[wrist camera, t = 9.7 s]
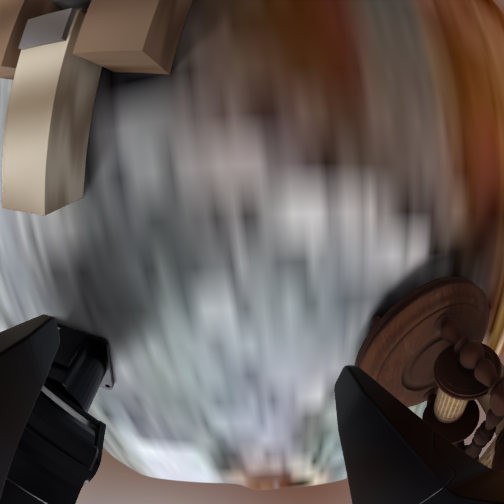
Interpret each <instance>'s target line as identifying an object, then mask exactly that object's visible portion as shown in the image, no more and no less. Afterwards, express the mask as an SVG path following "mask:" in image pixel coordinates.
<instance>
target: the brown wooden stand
mask: <svg viewBox="0 0 504 504" xmlns="http://www.w3.org/2000/svg"><path fill="white" fill-rule="evenodd" d="M488 321H489V305H488V301H487V298H486V296H485V294H484V292H483V291H482V290H481V289H480V288H479V287H478V286H476V285H475V284H474V283H473V282H471V281H470V280H468V279H465V278H462V277H444V278H440V279H437V280H434V281H431V282H429V283H426V284H424V285H422V286H421V287H419V288H417V289H415V290H414V291H412V292H411V293H409V294H408V295H406V296H405V297H404V298H402V299H401V300H400V301H399V302H397V303H396V304H395V305H394V306H393V307H392V308H391V309H390V310H388V311H387V312H386V314H385V315H384V316H383V317H382V318H381V317H378V316H374V317H373V318H372V326H373V329H372V330H371V331H370V333H369V334H368V336H367V338H366V339H365V341H364V343H363V344H362V346H361V348H360V351H359V353H358V356H357V359H356V362H355V366H359V367H360V368H361V369H362V370H363V371H365V372H366V373H367V374H368V375H369V376H371V377H372V378H373V379H374V380H375V381H376V382H378V383H379V384H380V385H381V386H382V387H384V388H385V389H386V390H387V391H388V392H390V393H391V394H392V395H393V396H394V397H396V398H397V399H398V400H399V401H400V402H402V403H403V404H404V405H405V406H406V407H410V406H414V405H417V404H420V403H422V402H424V401H427V406H426V408H425V410H424V413H423V417H422V420H423V421H425V422H426V423H427V424H428V425H429V426H431V427H432V428H433V430H436V431H437V432H438V433H439V434H441V435H442V436H443V437H444V438H446V439H447V440H448V441H450V442H451V443H452V444H454V445H455V446H456V447H458V448H459V449H461V450H462V451H464V452H465V453H467V454H468V455H470V456H471V457H473V458H474V459H476V460H478V461H479V462H481V463H482V464H484V465H485V466H487V467H489V468H491V469H493V470H497V471H504V366H503V365H502V363H501V362H500V359H499V357H498V355H497V354H496V353H495V352H494V351H493V350H492V349H491V348H490V347H488V346H487V345H485V344H482V341H483V339H484V336H485V333H486V330H487V326H488ZM475 399H477V400H478V402H479V403H480V405H481V407H482V408H483V410H484V412H485V414H486V420H485V421H484V422H483V423H482V424H481V425H480V427H479V428H478V429H477V430H476V432H475V434H474V437H473V439H472V443H471V444H470V445H464V439H466V438H467V437H468V436H470V434H472V432H473V431H474V430H475V428H476V426H477V424H478V421H479V408H478V405H477V404H476V402H475V401H474V400H475ZM494 432H495V433H496V435H497V436H496V438H495V439H494V441H493V442H492V443H491V445H490V446H489V447H488V449H487V450H486V452H485V453H484V454H483V455H482V457H481V458H480V459H479V454H480V452H481V450H482V448H483V447H484V446H486V444H487V443H488V442H489V441H490V440H491V439H492V437H493V434H494Z"/></svg>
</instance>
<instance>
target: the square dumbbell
mask: <svg viewBox="0 0 504 504" xmlns="http://www.w3.org/2000/svg"><path fill="white" fill-rule="evenodd" d="M192 1H193V0H0V78H5V79H13V80H14V75H15V71H16V67H17V63H18V60H19V56H20V52H21V49H18V48H19V45H20V42H21V38H22V35H23V32H24V30H25V27H26V24H27V21H28V20H29V19H32V18H35V17H38V16H42V15H45V14H49V13H53V12H57V11H61V10H66V9H70V8H73V9H79V8H84V9H88V10H87V13H86V15H85V18H84V21H83V23H82V26H81V29H80V32H79V35H78V38H77V41H76V44H75V47H74V50H73V54H75V55H77V56H79V57H82V58H84V59H86V60H89V61H91V62H93V63H96V64H98V65H100V66H102V67H104V68H107V69H109V70H111V71H113V72H135V73H155V74H168V75H170V72H171V68H172V65H173V61H174V57H175V54H176V50H177V47H178V44H179V40H180V37H181V34H182V31H183V28H184V24H185V21H186V18H187V15H188V12H189V10H190V7H191V4H192Z"/></svg>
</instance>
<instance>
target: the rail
mask: <svg viewBox="0 0 504 504" xmlns="http://www.w3.org/2000/svg"><path fill="white" fill-rule="evenodd" d="M86 13H87V11H86V10H85V9H84V8H79V9H73V8H70V9H66V10H61V11H57V12H53V13H49V14H45V15H42V16H38V17H35V18H32V19H29V20H28V21H27V24H26V27H25V30H24V32H23V35H22V38H21V42H20V45H19V48H18V49H21V52H20V56H19V60H18V63H17V67H16V71H15V75H14V80H13V84H12V89H11V94H10V100H9V106H8V112H7V119H6V127H5V135H4V146H3V162H2V208H4V209H10V210H16V211H21V212H27V213H33V214H38V215H44V216H45V215H47V214H49V213H51V212H53V211H55V210H57V209H60V208H62V207H64V206H66V205H68V204H70V203H73V202H75V201H77V200H79V199H81V198H83V192H84V177H85V165H86V155H87V146H88V138H89V131H90V125H91V118H92V112H93V107H94V102H95V96H96V92H97V87H98V82H99V78H100V74H101V70H102V66H100V65H98V64H96V63H93V62H91V61H89V60H86V59H84V58H82V57H79V56H77V55H75V54H73V50H74V47H75V44H76V41H77V38H78V35H79V32H80V29H81V26H82V23H83V21H84V18H85V15H86Z"/></svg>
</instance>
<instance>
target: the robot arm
mask: <svg viewBox="0 0 504 504" xmlns="http://www.w3.org/2000/svg"><path fill="white" fill-rule="evenodd" d="M113 385H114V384H113V377H112V370H111V362H110V353H109V344H108V342H107V341H106V340H105V339H103V338H100V337H96V336H93V335H90V334H86V333H83V332H80V331H77V330H74V329H71V328H68V327H65V326H62V325H59V324H57V322H56V320H55V318H54V317H52V316H49V315H45V314H43V315H41V316H38V317H36V318H33V319H31V320H29V321H26V322H24V323H21V324H19V325H17V326H14V327H12V328H9V329H7V330H5V331H2V332H0V504H75V503H76V500H77V498H78V495H79V493H80V490H81V488H82V486H83V485H84V484H86V483H88V482H89V481H90V480H91V479H92V478H93V477H94V475H95V474H96V472H97V470H98V467H99V465H100V462H101V456H102V449H103V442H104V435H105V428H106V424H104V423H103V422H101V421H98V420H97V419H95V418H94V417H93V416H91V415H90V414H88V413H87V412H88V410H89V408H90V406H91V403H92V401H93V399H94V397H95V395H96V392H97V390H98V388H99V386H100V387H103V388H106V389H112V388H113ZM334 390H335V400H336V411H337V422H338V431H339V436H340V441H341V446H342V451H343V456H344V461H345V466H346V471H347V477H348V482H349V487H350V493H351V499H352V504H504V471H497V470H493V469H491V468H489V467H487V466H485V465H484V464H482V463H481V462H479V461H478V460H476V459H474V458H473V457H471V456H470V455H468V454H467V453H465V452H464V451H462V450H461V449H459V448H458V447H456V446H455V445H454V444H452V443H451V442H450V441H448V440H447V439H446V438H444V437H443V436H442V435H441V434H439V433H438V432H437V431H436V430H433V428H432V427H431V426H429V425H428V424H427V423H426V422H425V421H423V420H422V419H421V418H420V417H418V416H417V415H416V414H415V413H414V412H412V411H411V410H410V409H409V408H408V407H406V406H405V405H404V404H403V403H402V402H400V401H399V400H398V399H397V398H396V397H394V396H393V395H392V394H391V393H390V392H388V391H387V390H386V389H385V388H384V387H382V386H381V385H380V384H379V383H378V382H376V381H375V380H374V379H373V378H372V377H371V376H369V375H368V374H367V373H366V372H365V371H363V370H362V369H361V368H360V367H359V366H355V365H347V366H345V367H344V368H343V370H342V372H341V374H340V376H339V378H338V379H337V381H336V384H335V389H334Z"/></svg>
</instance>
